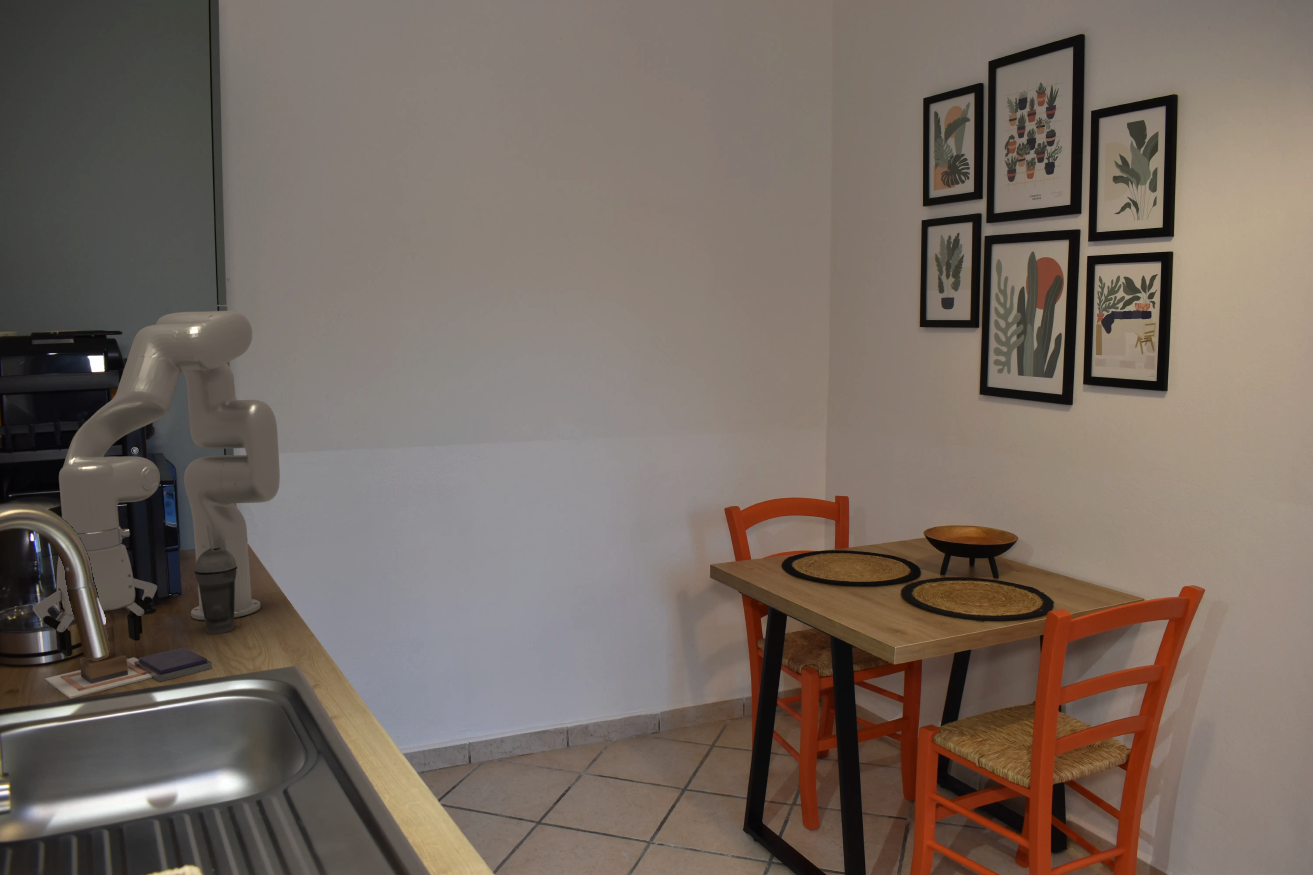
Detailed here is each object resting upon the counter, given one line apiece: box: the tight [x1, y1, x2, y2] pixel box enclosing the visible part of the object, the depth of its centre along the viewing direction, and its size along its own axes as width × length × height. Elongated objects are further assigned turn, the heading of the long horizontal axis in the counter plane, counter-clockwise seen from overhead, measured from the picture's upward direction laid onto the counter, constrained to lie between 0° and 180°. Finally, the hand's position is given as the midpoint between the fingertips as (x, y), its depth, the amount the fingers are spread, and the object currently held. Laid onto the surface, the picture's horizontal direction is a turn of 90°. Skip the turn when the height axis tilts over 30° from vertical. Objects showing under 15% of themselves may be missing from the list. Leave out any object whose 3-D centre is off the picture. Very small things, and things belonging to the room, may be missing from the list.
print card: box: [44, 657, 154, 699], centre depth 147 cm, size 13×13×1 cm
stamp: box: [79, 610, 128, 684], centre depth 147 cm, size 5×5×11 cm
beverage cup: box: [194, 525, 237, 635], centre depth 171 cm, size 7×7×20 cm
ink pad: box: [135, 646, 213, 683], centre depth 151 cm, size 11×8×2 cm
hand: (101, 646), depth 147 cm, fingers open, 9 cm apart
